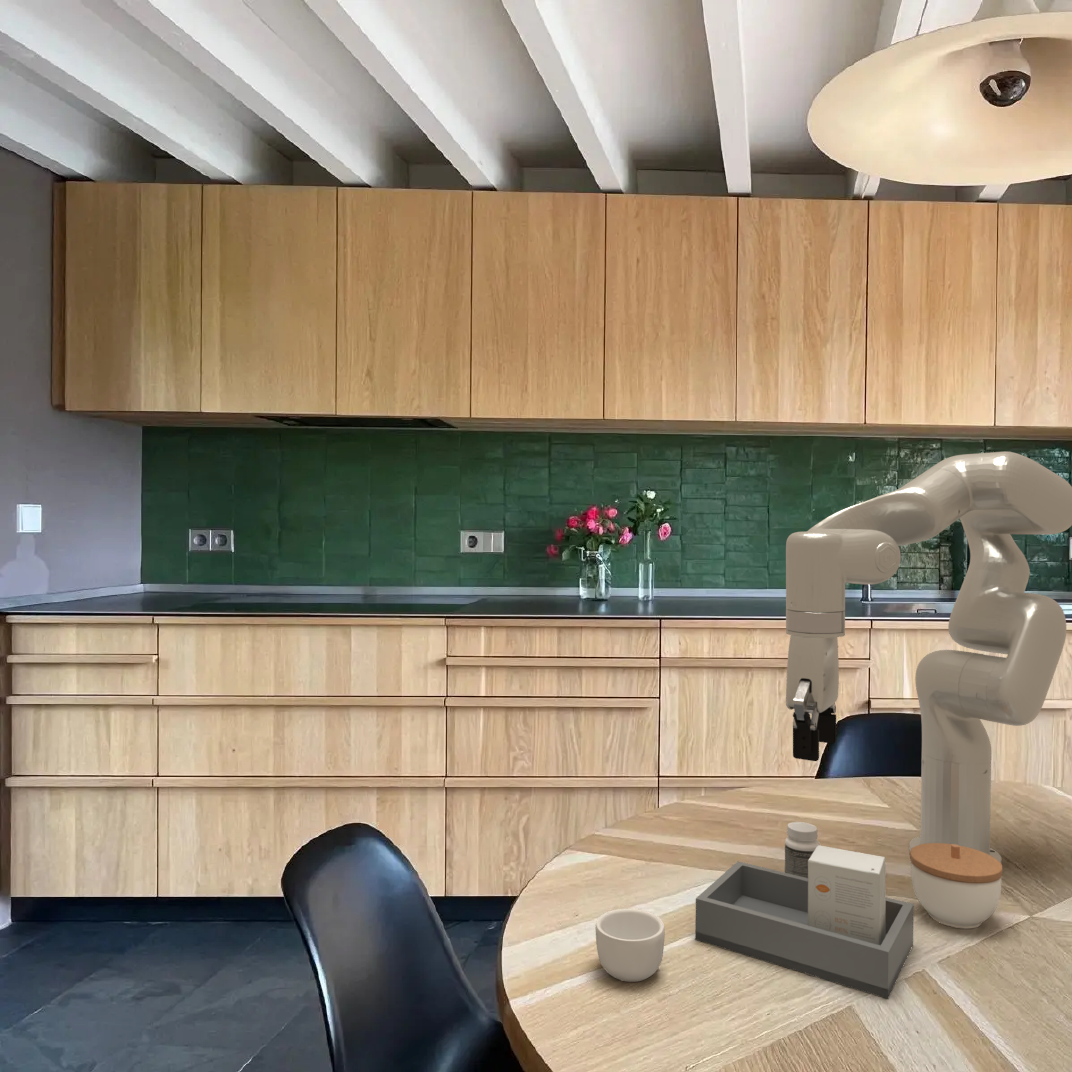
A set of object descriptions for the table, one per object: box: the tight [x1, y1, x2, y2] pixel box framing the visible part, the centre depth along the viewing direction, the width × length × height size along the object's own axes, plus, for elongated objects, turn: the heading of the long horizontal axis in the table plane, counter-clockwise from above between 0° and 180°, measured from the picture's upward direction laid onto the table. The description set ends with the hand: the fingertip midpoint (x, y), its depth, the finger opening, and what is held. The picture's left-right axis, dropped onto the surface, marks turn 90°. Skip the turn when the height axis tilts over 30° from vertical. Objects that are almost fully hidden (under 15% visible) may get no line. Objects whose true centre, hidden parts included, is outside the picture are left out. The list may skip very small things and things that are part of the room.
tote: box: [694, 860, 915, 1000], centre depth 101 cm, size 14×22×5 cm, turn 56°
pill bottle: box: [784, 821, 821, 878], centre depth 117 cm, size 5×5×8 cm
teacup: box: [595, 908, 666, 983], centre depth 94 cm, size 10×8×5 cm
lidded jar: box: [909, 843, 1004, 930], centre depth 107 cm, size 11×11×9 cm
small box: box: [808, 844, 887, 946], centre depth 98 cm, size 8×6×10 cm
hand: (815, 750), depth 112 cm, fingers open, 9 cm apart
